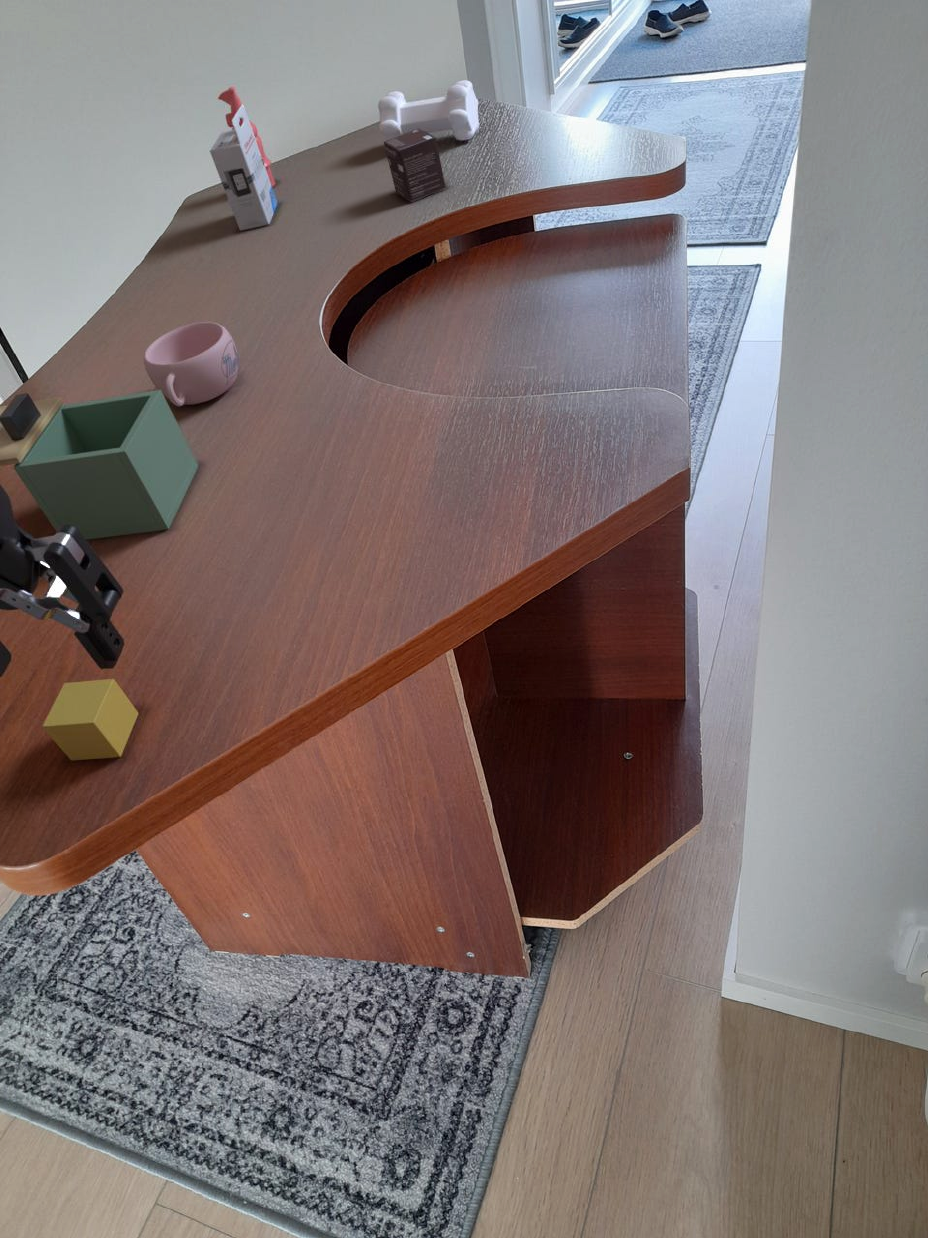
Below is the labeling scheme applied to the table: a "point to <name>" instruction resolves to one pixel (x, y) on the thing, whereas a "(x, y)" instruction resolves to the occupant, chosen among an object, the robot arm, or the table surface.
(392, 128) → the dog bone
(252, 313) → the table surface
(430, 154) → the box
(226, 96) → the figurine
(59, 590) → the robot arm
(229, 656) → the table surface
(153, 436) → the case
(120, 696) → the block
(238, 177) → the ink box
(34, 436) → the slide door
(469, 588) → the table surface
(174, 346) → the mug
